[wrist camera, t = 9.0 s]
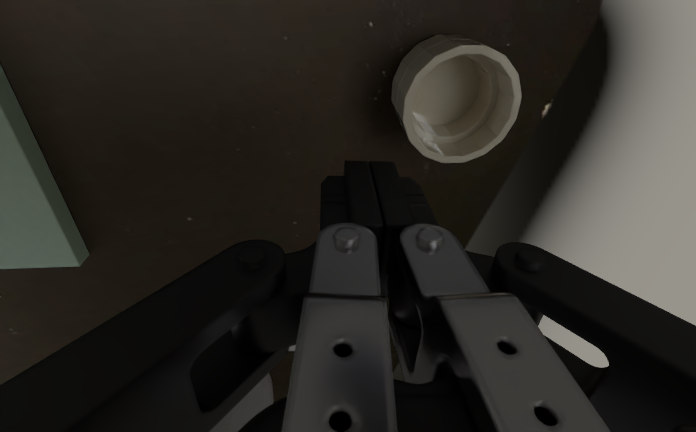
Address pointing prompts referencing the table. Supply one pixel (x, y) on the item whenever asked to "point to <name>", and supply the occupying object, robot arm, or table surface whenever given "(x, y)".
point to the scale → (31, 198)
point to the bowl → (455, 97)
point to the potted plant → (247, 407)
